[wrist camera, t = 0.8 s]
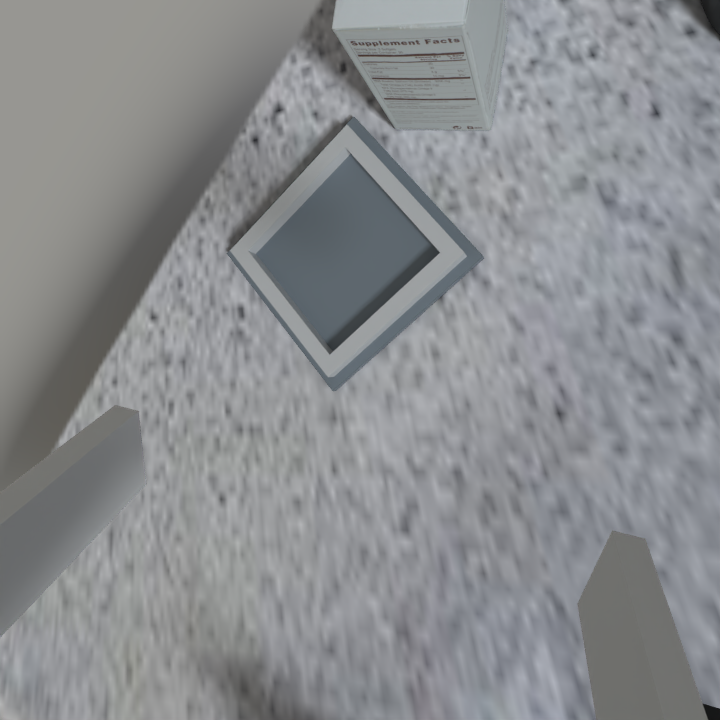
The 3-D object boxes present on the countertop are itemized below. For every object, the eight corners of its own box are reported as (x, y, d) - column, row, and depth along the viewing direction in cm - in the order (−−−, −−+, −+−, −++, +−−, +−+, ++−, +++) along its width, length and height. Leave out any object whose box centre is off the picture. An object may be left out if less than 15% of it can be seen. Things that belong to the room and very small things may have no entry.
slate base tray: (356, 119, 39) (348, 108, 37) (484, 258, 36) (481, 252, 34) (230, 254, 43) (218, 250, 41) (335, 390, 40) (326, 392, 38)
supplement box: (409, 33, 38) (349, -118, 26) (510, 29, 35) (496, -141, 23) (392, 133, 38) (326, 29, 26) (491, 135, 36) (468, 22, 24)
